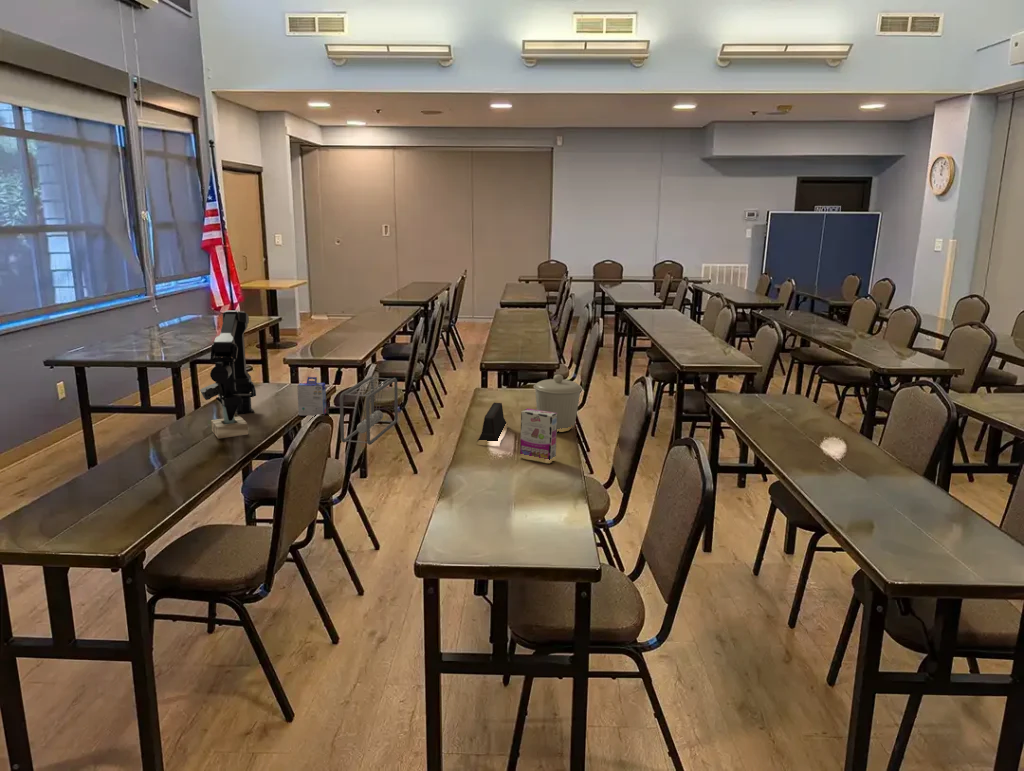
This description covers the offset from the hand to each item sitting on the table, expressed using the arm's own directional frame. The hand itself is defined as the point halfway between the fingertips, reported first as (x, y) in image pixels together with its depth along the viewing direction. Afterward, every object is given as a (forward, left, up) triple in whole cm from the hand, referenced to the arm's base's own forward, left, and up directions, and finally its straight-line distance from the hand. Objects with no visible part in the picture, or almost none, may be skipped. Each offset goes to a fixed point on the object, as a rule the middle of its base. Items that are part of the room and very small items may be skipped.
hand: (229, 419), depth 251 cm
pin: (0, 0, -3) cm, 3 cm away
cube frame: (+23, +43, -5) cm, 50 cm away
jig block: (0, 0, -5) cm, 5 cm away
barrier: (+48, +80, -6) cm, 94 cm away
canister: (+53, +105, -5) cm, 118 cm away
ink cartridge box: (-9, +33, -5) cm, 35 cm away
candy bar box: (+77, +79, -5) cm, 110 cm away
